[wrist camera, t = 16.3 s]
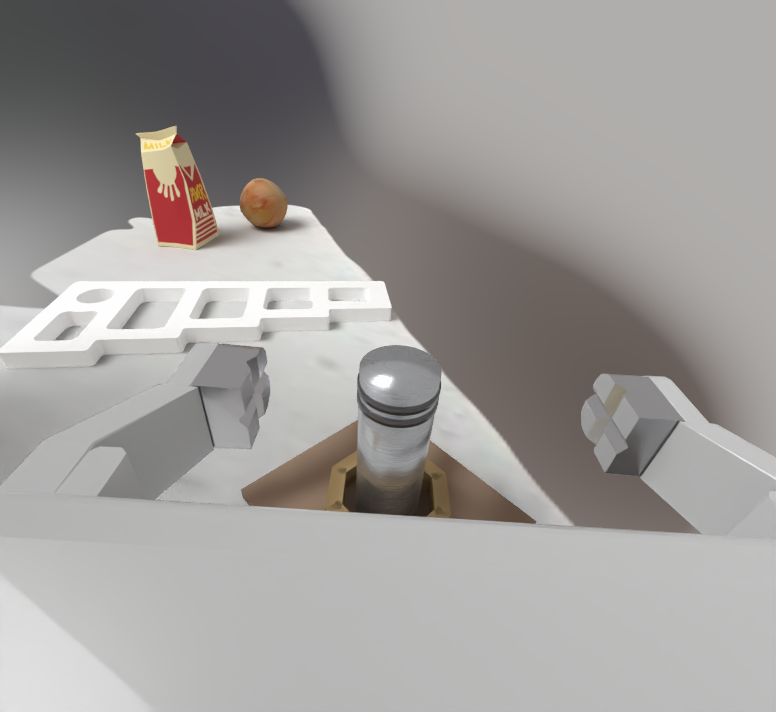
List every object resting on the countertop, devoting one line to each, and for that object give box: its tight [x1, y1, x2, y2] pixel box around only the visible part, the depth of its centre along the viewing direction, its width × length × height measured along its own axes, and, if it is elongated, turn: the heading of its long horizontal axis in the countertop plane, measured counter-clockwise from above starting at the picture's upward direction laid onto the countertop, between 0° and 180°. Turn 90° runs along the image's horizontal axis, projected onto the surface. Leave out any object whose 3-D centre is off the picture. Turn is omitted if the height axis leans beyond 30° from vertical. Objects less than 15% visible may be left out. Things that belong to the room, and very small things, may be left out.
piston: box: [356, 345, 441, 516], centre depth 29 cm, size 5×5×14 cm
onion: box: [240, 178, 288, 227], centre depth 86 cm, size 10×10×10 cm
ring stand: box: [241, 420, 536, 524], centre depth 32 cm, size 18×16×3 cm
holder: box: [0, 281, 392, 369], centre depth 55 cm, size 45×18×3 cm, turn 98°
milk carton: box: [136, 126, 220, 250], centre depth 74 cm, size 9×9×20 cm
